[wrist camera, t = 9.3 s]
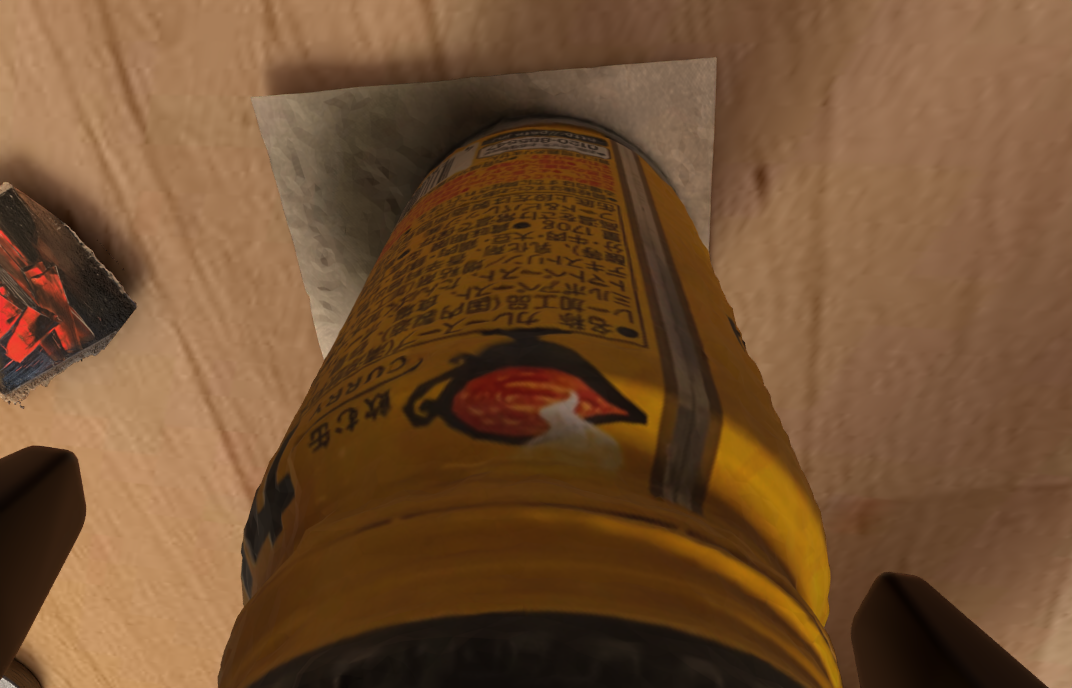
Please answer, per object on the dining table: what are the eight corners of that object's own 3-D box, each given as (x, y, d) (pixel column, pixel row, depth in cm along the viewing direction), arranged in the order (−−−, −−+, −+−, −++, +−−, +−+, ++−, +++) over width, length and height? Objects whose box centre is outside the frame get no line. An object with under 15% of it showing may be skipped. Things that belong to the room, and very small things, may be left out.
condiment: (703, 393, 17) (940, 1152, 6) (339, 413, 17) (16, 1145, 7) (714, 54, 13) (1287, 534, 3) (256, 93, 14) (-668, 616, 3)
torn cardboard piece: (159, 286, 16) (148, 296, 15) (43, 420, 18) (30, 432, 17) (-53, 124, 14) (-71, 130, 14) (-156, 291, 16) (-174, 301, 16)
